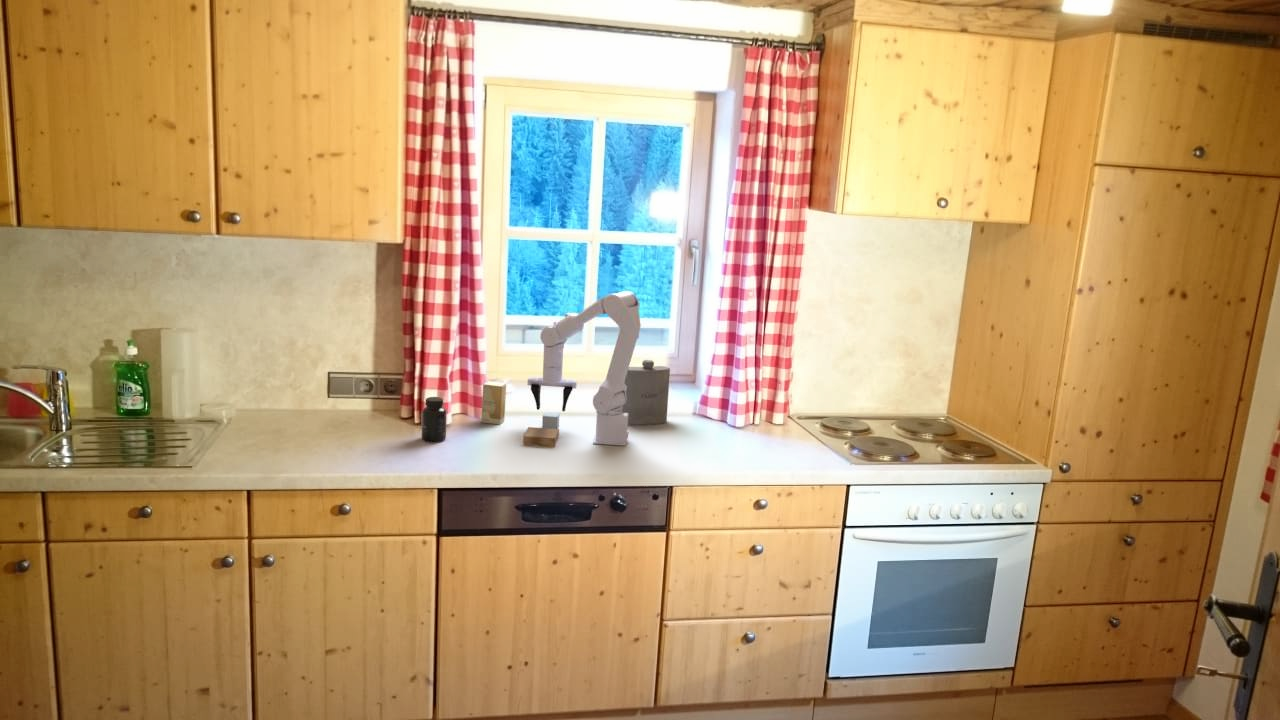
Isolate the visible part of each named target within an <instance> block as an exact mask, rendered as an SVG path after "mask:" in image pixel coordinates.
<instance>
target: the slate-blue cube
mask: <svg viewBox="0 0 1280 720" xmlns="http://www.w3.org/2000/svg"><path fill="white" fill-rule="evenodd" d="M541 422H542V423H541V425H542V427H541V428H550V429H559V428H560V412H550V411H549V412H548V411H545V412H543V415H542V421H541Z"/></svg>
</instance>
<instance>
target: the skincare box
mask: <svg viewBox="0 0 1280 720" xmlns="http://www.w3.org/2000/svg"><path fill="white" fill-rule="evenodd" d="M487 381H488V380H487ZM487 381H485V382H486V383H485V382H484V383H483V384H482V399H481V400H482V403H481V420H480V421H481V423H484V424H485V423H486V424H492V425H493V424H494V425H501V424H503V423H504V422H505V419H506V417H505V415H506V414H505V413H506V398H507V397H506V396H507V383H506V382H498V381H490V380H489V381H488V383H487Z"/></svg>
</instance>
